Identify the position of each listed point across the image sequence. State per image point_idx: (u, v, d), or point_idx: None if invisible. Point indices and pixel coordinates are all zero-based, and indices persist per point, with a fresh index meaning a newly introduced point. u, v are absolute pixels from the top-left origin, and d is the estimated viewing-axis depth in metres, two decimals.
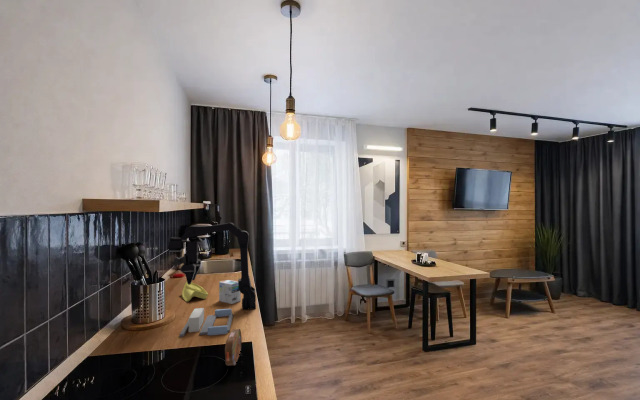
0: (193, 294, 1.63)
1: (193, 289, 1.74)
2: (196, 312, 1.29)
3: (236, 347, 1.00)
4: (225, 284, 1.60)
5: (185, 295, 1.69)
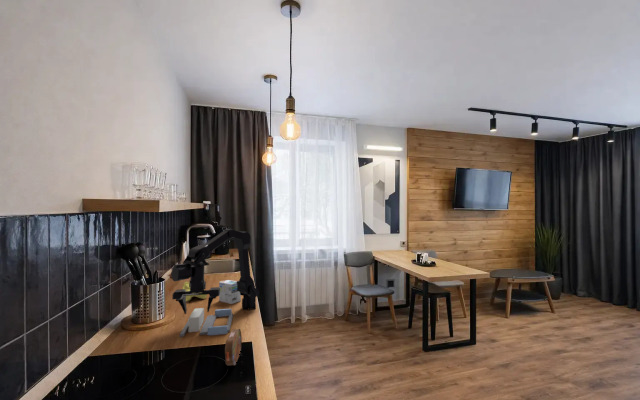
0: None
1: None
2: (196, 312, 1.29)
3: (236, 347, 1.00)
4: (225, 284, 1.60)
5: None
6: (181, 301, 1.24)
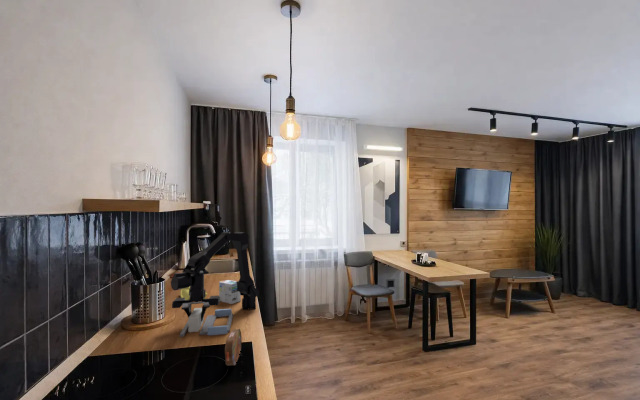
0: None
1: None
2: (196, 311, 1.29)
3: (236, 347, 1.00)
4: (225, 284, 1.60)
5: (184, 295, 1.68)
6: (187, 309, 1.24)
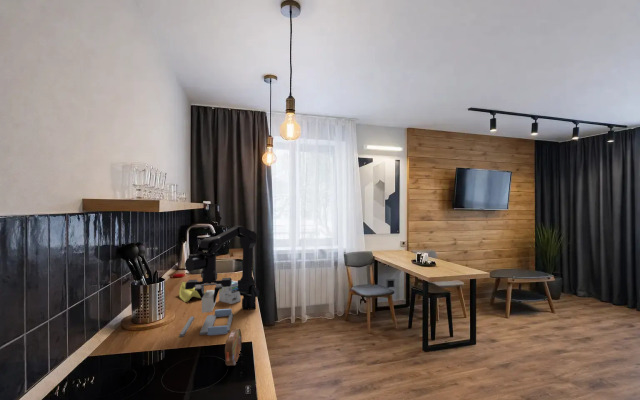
0: (192, 294, 1.63)
1: (190, 289, 1.73)
2: (209, 293, 1.30)
3: (236, 347, 1.00)
4: None
5: (183, 295, 1.68)
6: (200, 291, 1.26)
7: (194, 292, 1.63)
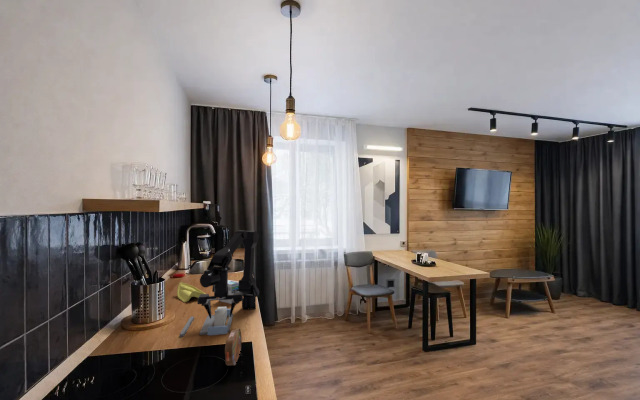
0: (192, 294, 1.63)
1: (188, 290, 1.73)
2: (220, 310, 1.31)
3: (236, 347, 1.00)
4: None
5: (181, 296, 1.67)
6: (207, 306, 1.26)
7: (193, 292, 1.63)
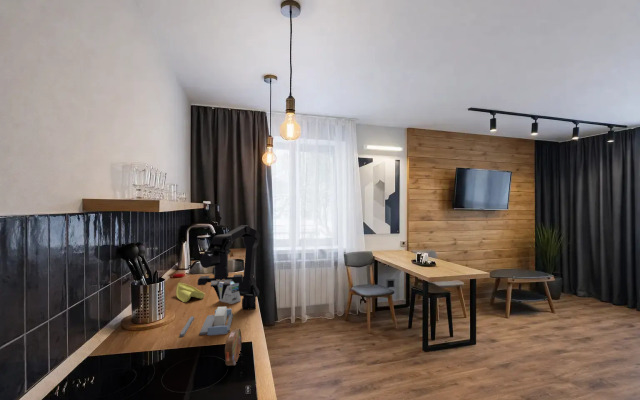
0: (191, 294, 1.62)
1: (187, 290, 1.72)
2: (220, 310, 1.31)
3: (236, 347, 1.00)
4: None
5: (181, 296, 1.67)
6: (216, 287, 1.27)
7: (193, 292, 1.63)
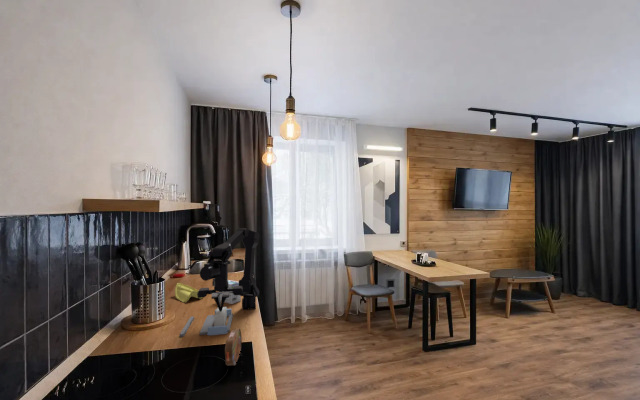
0: (191, 294, 1.62)
1: (186, 290, 1.72)
2: None
3: (236, 347, 1.00)
4: None
5: (180, 296, 1.66)
6: (216, 299, 1.27)
7: (193, 292, 1.63)
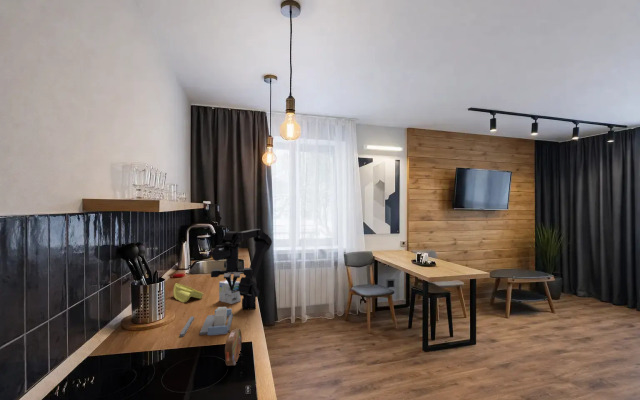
0: (191, 294, 1.62)
1: (185, 290, 1.72)
2: (220, 310, 1.31)
3: (236, 347, 1.00)
4: (225, 284, 1.60)
5: (179, 296, 1.66)
6: (228, 278, 1.38)
7: (192, 292, 1.63)
